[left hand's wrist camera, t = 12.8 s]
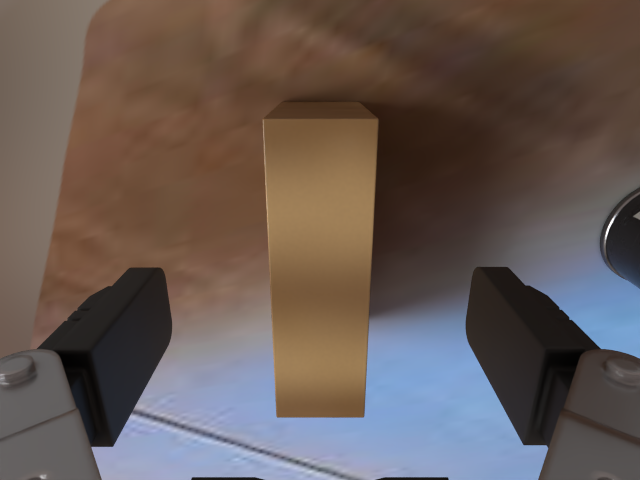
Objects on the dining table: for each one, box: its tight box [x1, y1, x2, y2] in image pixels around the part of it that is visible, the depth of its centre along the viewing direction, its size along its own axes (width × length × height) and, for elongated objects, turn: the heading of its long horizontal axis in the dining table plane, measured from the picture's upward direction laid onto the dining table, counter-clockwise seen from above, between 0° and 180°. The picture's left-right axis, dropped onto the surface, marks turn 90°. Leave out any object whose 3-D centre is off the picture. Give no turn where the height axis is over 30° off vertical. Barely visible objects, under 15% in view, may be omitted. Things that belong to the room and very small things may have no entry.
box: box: [262, 102, 379, 417], centre depth 32 cm, size 20×6×12 cm, turn 0°
